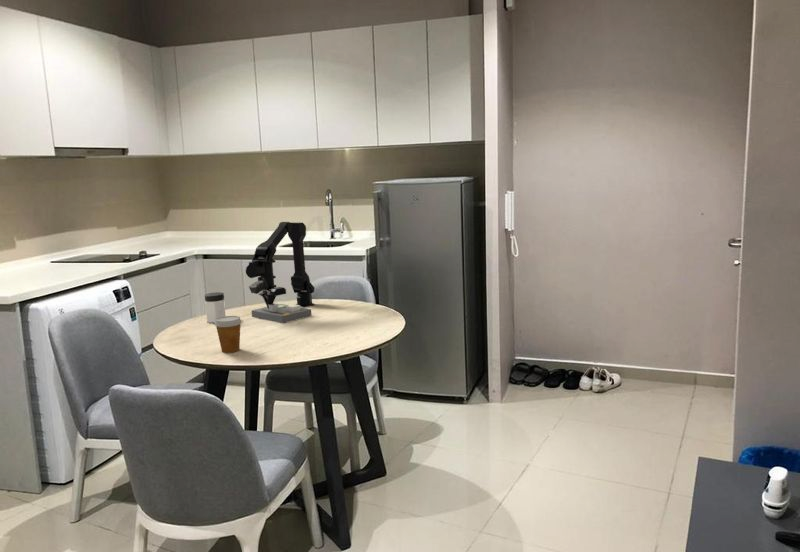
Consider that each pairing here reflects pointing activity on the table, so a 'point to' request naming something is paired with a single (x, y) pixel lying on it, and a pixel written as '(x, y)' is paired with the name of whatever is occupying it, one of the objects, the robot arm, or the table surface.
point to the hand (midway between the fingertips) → (269, 308)
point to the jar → (214, 306)
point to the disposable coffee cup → (229, 333)
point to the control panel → (281, 314)
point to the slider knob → (273, 307)
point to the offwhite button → (293, 308)
